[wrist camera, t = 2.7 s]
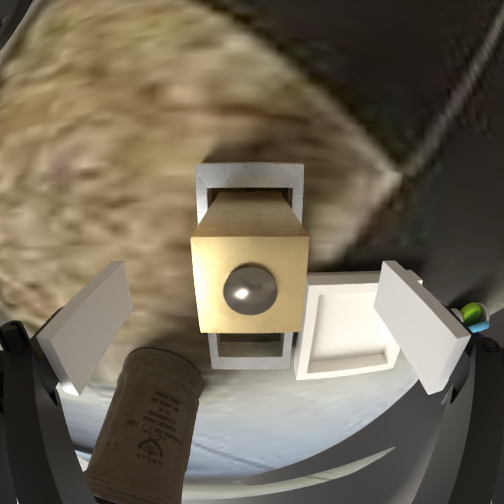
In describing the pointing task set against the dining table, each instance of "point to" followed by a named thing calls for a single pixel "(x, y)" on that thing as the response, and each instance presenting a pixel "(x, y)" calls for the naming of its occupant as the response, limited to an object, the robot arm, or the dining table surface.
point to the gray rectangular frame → (293, 179)
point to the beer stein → (146, 431)
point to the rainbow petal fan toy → (474, 317)
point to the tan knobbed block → (250, 264)
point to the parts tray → (343, 327)
